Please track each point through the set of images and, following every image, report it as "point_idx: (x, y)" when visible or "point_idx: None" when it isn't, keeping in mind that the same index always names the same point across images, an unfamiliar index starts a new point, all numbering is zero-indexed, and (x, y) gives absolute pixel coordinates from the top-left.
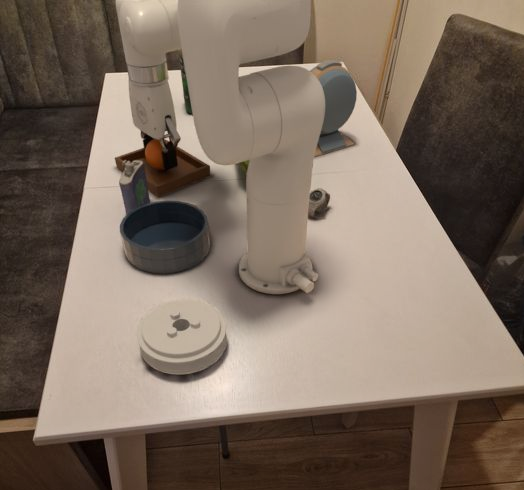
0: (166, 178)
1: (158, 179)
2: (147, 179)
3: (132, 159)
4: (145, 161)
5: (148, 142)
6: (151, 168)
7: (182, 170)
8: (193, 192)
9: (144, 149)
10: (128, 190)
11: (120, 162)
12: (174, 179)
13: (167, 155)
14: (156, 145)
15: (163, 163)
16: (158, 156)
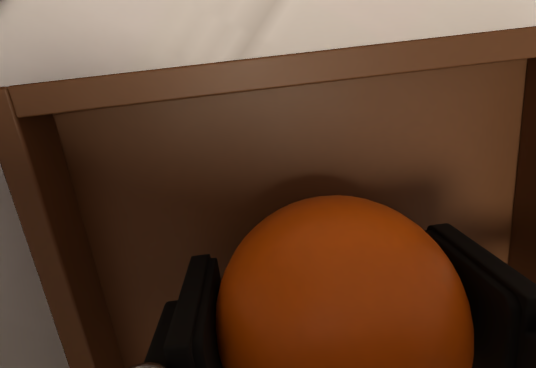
0: (198, 227)
1: (210, 182)
2: (124, 82)
3: (529, 150)
4: (464, 212)
5: (493, 319)
6: None
7: None
8: (3, 285)
9: (479, 247)
10: None
11: (518, 28)
12: (30, 249)
13: (157, 356)
14: (307, 360)
15: (196, 276)
16: (235, 286)
